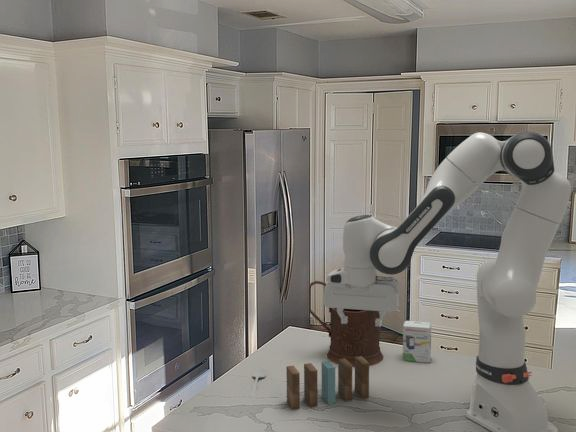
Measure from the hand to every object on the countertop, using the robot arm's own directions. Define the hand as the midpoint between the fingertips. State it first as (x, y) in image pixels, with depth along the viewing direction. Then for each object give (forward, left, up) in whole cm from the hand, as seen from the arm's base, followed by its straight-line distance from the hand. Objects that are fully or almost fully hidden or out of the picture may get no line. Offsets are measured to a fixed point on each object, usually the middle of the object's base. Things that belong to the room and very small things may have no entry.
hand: (361, 324), depth 158 cm
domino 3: (0, +10, -20) cm, 22 cm away
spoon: (+15, +26, -21) cm, 37 cm away
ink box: (+17, -27, -20) cm, 38 cm away
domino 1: (0, +20, -20) cm, 28 cm away
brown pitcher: (+27, -7, -20) cm, 35 cm away
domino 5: (0, 0, -20) cm, 20 cm away
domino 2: (0, +15, -20) cm, 25 cm away
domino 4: (0, +5, -20) cm, 21 cm away
